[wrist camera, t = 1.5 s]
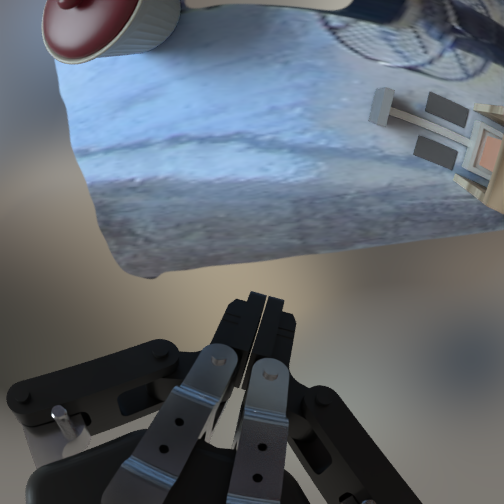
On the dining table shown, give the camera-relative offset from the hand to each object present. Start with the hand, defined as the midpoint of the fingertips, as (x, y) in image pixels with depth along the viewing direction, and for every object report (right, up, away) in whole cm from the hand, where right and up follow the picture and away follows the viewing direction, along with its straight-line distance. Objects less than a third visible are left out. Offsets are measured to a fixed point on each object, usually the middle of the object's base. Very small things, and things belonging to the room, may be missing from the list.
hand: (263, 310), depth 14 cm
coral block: (+37, +18, +22) cm, 47 cm away
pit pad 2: (+27, +18, +26) cm, 42 cm away
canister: (-17, +41, +25) cm, 51 cm away
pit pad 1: (+29, +24, +23) cm, 44 cm away
